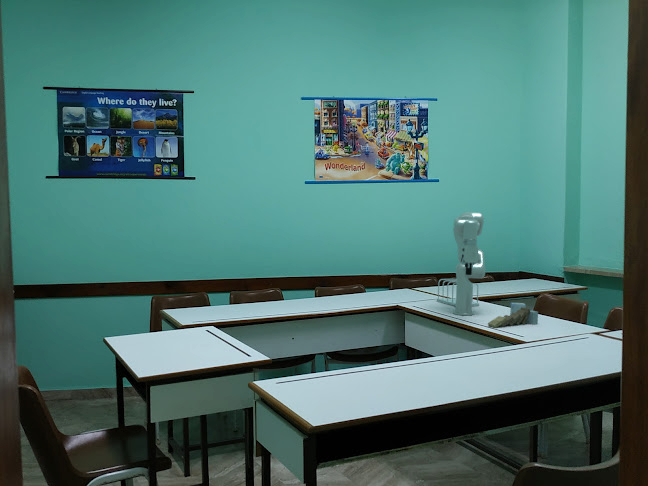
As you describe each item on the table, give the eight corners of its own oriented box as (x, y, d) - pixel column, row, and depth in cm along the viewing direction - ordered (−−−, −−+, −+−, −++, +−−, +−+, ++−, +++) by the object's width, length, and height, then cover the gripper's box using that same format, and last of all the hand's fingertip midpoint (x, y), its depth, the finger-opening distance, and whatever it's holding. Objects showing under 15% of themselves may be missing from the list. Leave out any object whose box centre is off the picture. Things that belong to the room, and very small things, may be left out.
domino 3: (510, 323, 346) (520, 314, 350) (502, 321, 351) (512, 312, 354) (511, 326, 347) (521, 316, 350) (504, 324, 351) (513, 315, 355)
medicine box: (523, 317, 375) (524, 303, 375) (525, 318, 371) (525, 304, 370) (510, 316, 376) (510, 302, 376) (511, 318, 372) (512, 303, 371)
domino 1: (494, 324, 340) (505, 317, 344) (487, 323, 344) (498, 316, 349) (495, 328, 341) (506, 320, 345) (488, 326, 345) (499, 319, 349)
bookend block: (532, 324, 353) (533, 312, 352) (518, 321, 361) (519, 309, 361) (537, 324, 355) (538, 311, 354) (523, 320, 363) (524, 309, 363)
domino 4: (516, 322, 349) (525, 311, 352) (509, 321, 353) (517, 309, 356) (518, 325, 350) (526, 313, 353) (511, 323, 354) (519, 312, 357)
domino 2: (502, 323, 343) (512, 316, 347) (494, 322, 347) (505, 315, 352) (502, 327, 344) (513, 319, 348) (495, 325, 348) (506, 318, 352)
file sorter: (479, 306, 413) (480, 282, 412) (457, 307, 407) (457, 283, 406) (457, 300, 436) (458, 278, 435) (436, 301, 430) (437, 278, 429)
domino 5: (522, 323, 352) (528, 308, 354) (515, 321, 356) (521, 307, 358) (524, 324, 353) (530, 309, 355) (517, 322, 357) (523, 308, 359)
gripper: (464, 243, 346) (463, 276, 348) (484, 242, 354) (482, 274, 356) (455, 242, 352) (454, 274, 354) (474, 241, 360) (473, 273, 362)
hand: (468, 274), depth 355 cm, fingers closed
